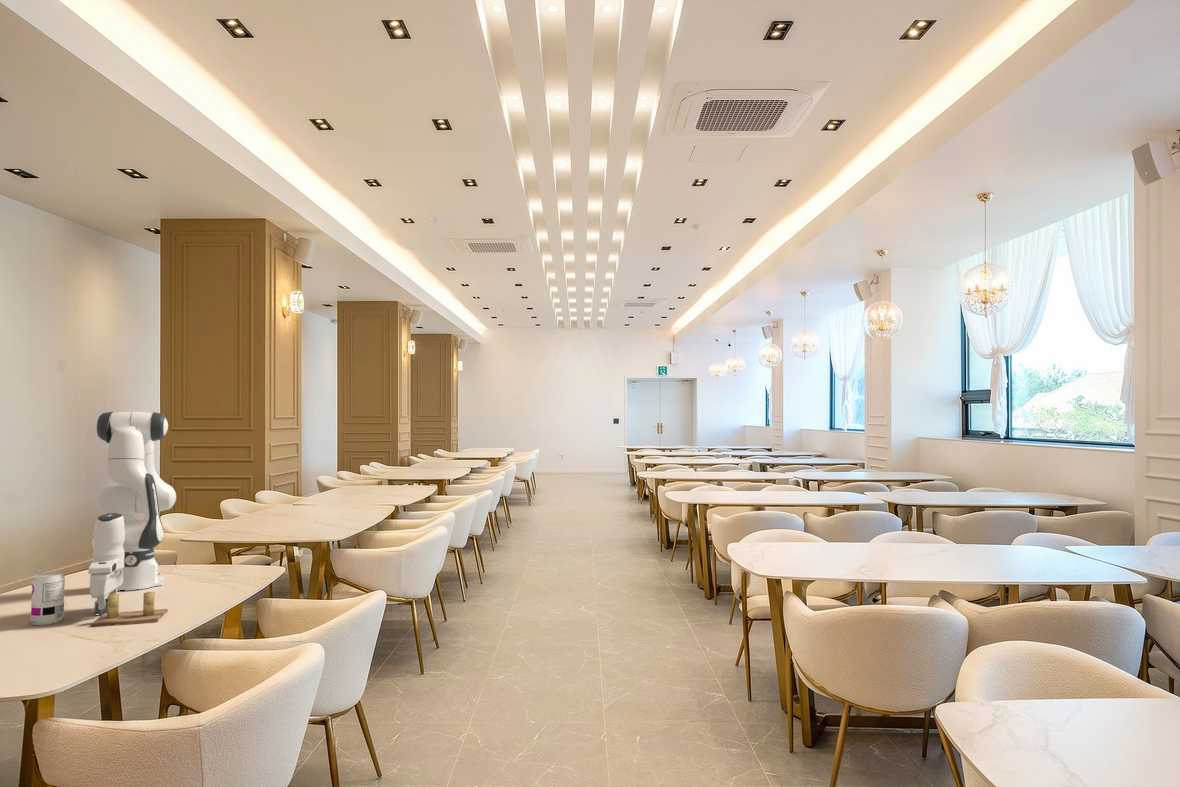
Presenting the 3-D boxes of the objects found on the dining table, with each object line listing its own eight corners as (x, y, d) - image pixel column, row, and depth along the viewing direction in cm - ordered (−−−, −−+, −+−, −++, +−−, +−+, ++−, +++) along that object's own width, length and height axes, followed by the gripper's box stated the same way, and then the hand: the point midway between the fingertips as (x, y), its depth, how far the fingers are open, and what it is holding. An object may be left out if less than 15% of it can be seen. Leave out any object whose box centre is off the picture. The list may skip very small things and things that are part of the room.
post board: (104, 616, 228) (105, 591, 229) (167, 611, 234) (168, 587, 234) (91, 626, 217) (91, 600, 217) (157, 621, 223) (158, 596, 223)
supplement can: (25, 626, 217) (27, 577, 217) (38, 619, 225) (40, 572, 225) (56, 624, 219) (57, 576, 220) (68, 617, 227) (69, 570, 227)
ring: (98, 610, 235) (98, 598, 235) (120, 609, 237) (121, 597, 237) (91, 616, 229) (91, 603, 229) (114, 614, 231) (114, 602, 231)
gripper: (107, 558, 242) (106, 598, 242) (86, 569, 223) (84, 613, 222) (129, 557, 244) (127, 597, 244) (109, 568, 225) (107, 612, 224)
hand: (107, 605), depth 233 cm, fingers open, 8 cm apart
